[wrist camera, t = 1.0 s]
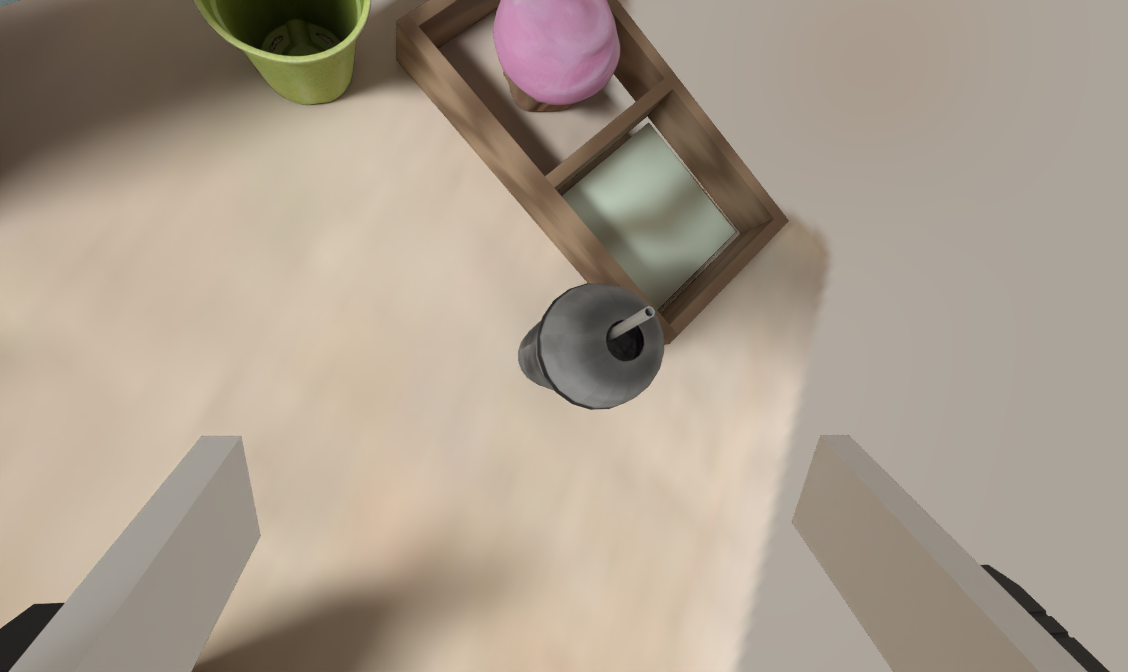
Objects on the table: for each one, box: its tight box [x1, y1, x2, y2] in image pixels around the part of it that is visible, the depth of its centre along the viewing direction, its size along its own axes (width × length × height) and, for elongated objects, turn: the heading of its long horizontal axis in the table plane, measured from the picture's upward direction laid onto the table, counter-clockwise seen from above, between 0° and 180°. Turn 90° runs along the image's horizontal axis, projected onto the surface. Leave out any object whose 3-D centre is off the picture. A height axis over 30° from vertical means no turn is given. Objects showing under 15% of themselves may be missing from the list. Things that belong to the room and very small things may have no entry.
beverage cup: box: [518, 283, 664, 410], centre depth 33 cm, size 7×7×20 cm
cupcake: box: [493, 0, 620, 112], centre depth 39 cm, size 9×9×10 cm
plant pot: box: [193, 0, 371, 105], centre depth 35 cm, size 9×9×9 cm
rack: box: [396, 0, 789, 345], centre depth 43 cm, size 29×15×4 cm, turn 43°
